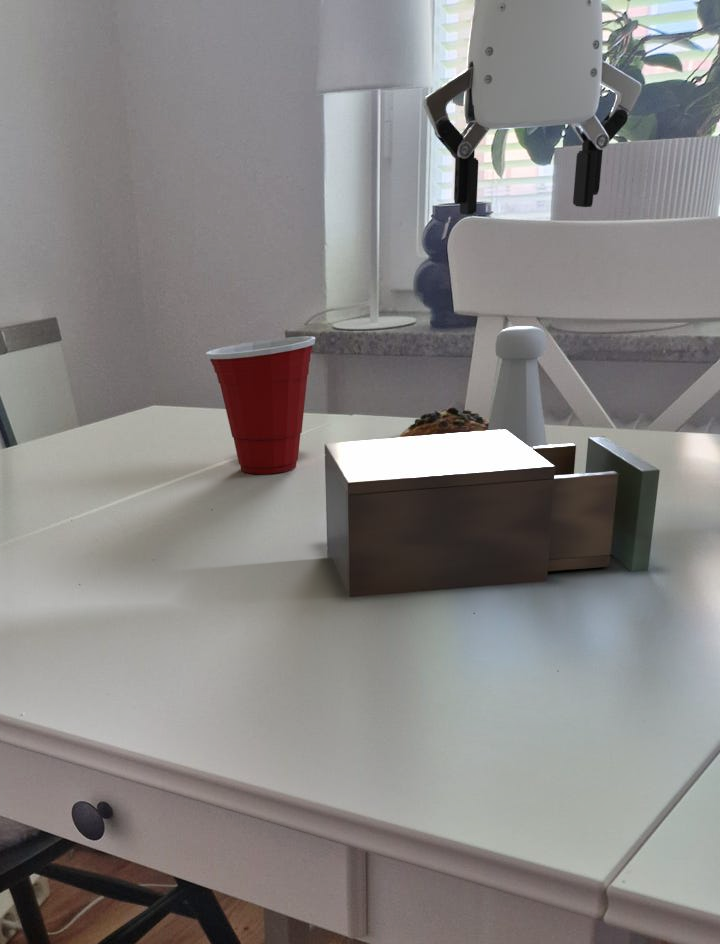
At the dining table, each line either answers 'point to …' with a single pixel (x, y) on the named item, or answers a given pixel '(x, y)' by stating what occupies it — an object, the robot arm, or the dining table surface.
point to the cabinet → (437, 512)
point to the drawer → (601, 507)
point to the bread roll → (446, 423)
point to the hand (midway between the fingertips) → (525, 210)
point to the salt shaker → (519, 385)
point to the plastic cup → (265, 399)
